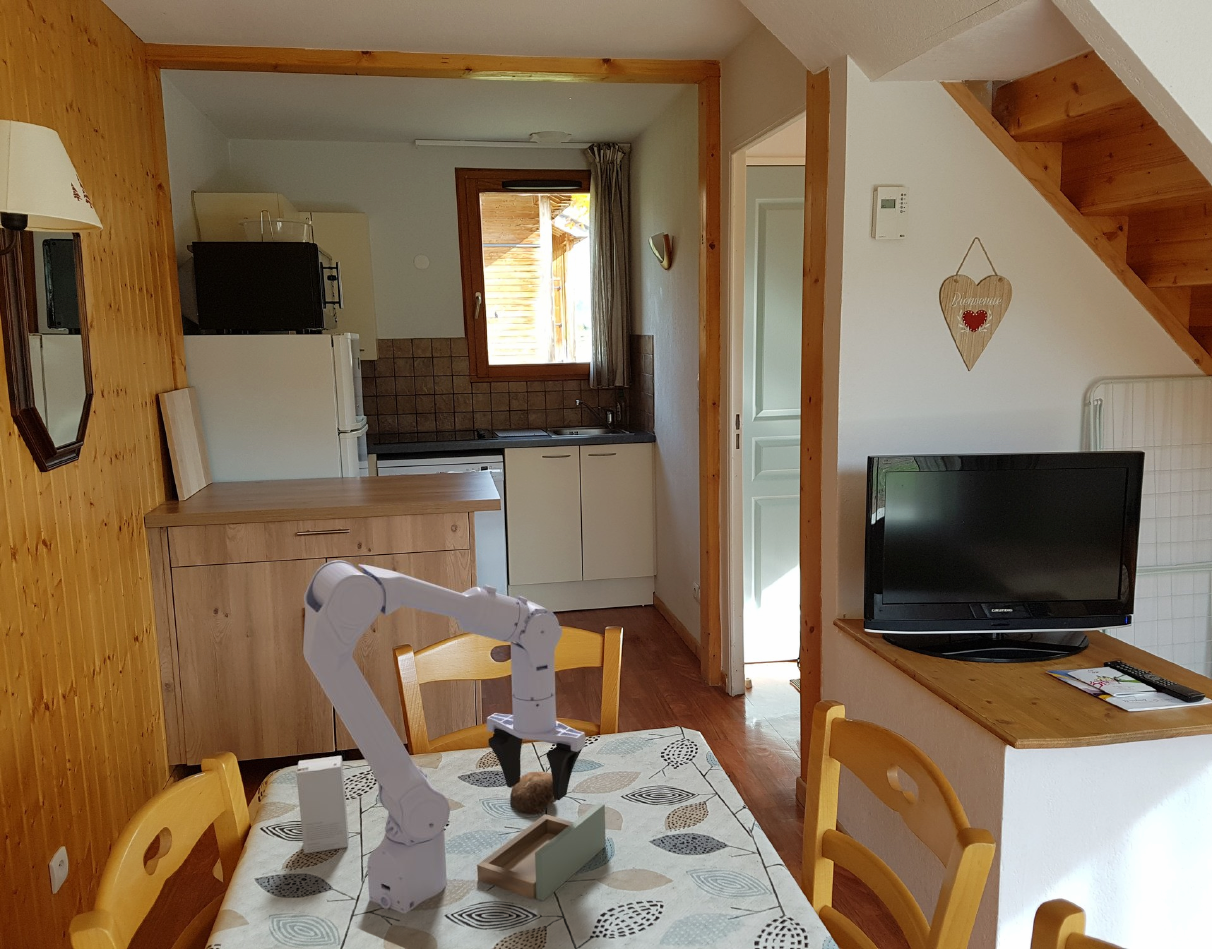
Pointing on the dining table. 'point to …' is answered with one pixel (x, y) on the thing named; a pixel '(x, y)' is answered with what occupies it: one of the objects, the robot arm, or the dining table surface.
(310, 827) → the skincare box
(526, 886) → the crate
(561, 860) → the panel
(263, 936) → the dining table surface
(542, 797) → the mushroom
